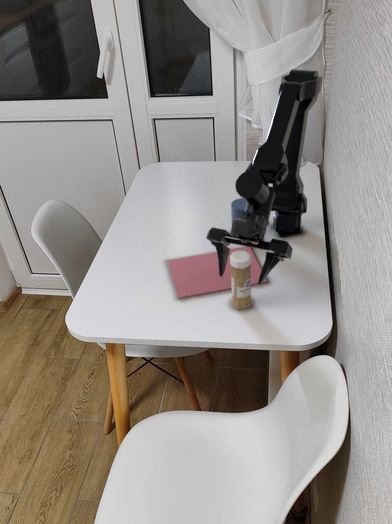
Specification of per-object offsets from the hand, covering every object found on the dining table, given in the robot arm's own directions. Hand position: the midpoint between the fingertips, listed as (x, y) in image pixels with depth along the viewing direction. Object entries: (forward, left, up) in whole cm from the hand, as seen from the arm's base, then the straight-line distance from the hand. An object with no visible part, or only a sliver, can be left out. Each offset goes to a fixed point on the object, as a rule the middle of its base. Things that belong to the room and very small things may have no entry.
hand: (239, 280), depth 119 cm
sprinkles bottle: (0, -1, -7) cm, 8 cm away
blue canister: (-8, -30, -7) cm, 32 cm away
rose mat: (+3, -15, -7) cm, 17 cm away
